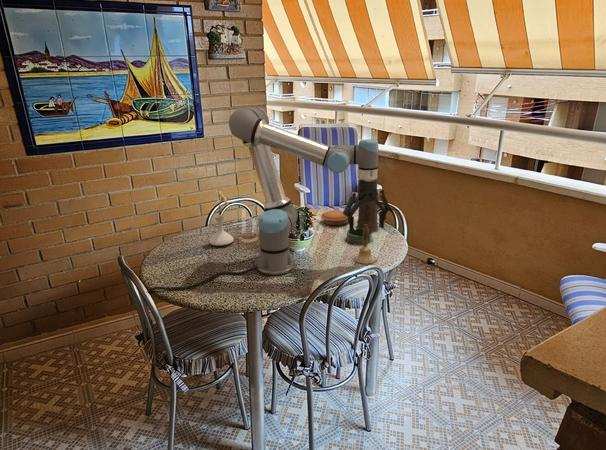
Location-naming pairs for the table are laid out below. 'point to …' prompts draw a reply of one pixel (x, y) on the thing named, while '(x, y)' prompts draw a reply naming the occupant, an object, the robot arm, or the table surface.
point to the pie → (334, 217)
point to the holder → (357, 236)
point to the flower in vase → (221, 228)
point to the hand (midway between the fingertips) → (366, 229)
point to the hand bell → (365, 249)
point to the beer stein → (368, 215)
